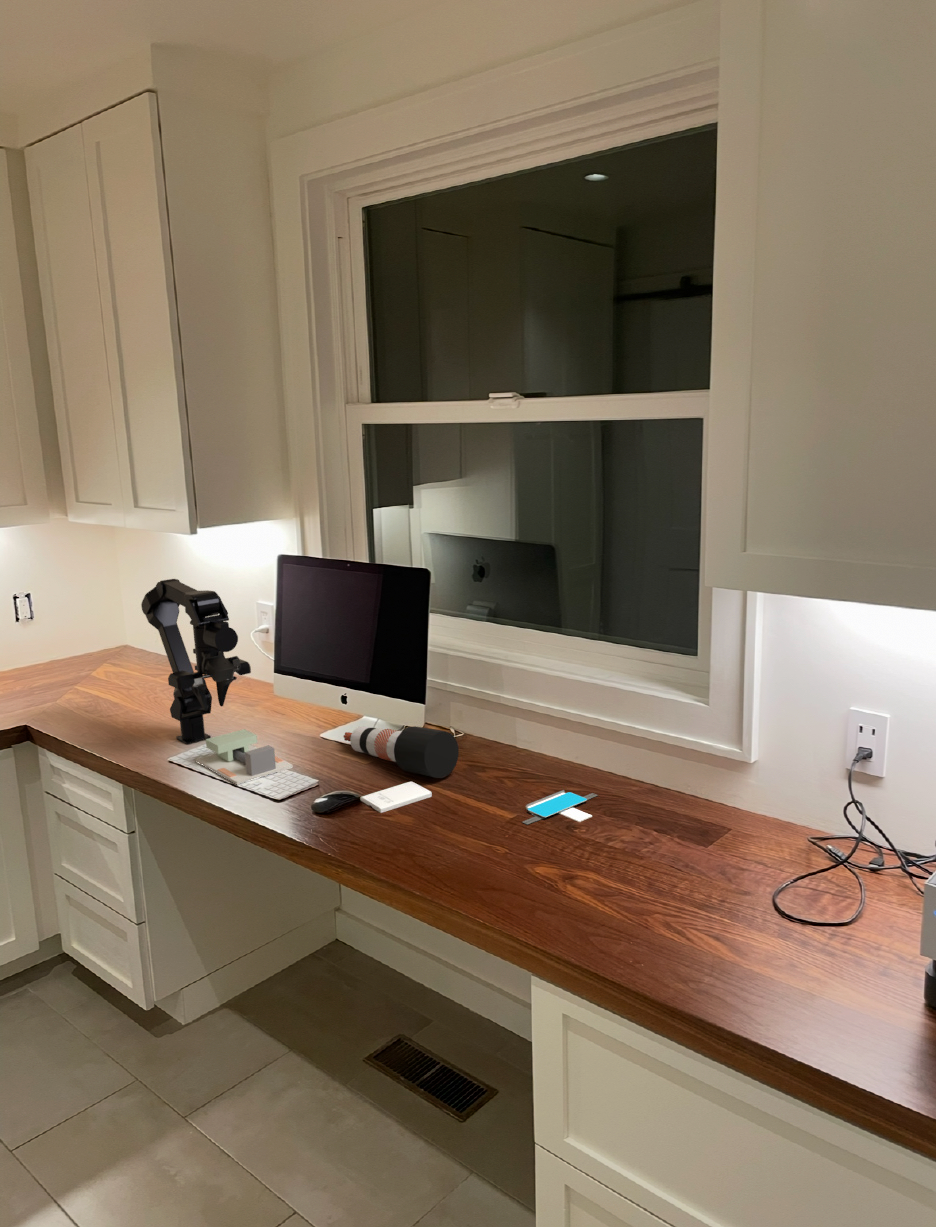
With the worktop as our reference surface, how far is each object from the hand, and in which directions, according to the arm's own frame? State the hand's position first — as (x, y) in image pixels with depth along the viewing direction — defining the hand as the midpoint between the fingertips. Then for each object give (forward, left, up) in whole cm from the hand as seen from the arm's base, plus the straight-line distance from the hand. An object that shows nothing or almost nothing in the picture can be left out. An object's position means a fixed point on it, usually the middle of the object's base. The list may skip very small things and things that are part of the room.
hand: (213, 708), depth 222 cm
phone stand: (+83, +33, -12) cm, 90 cm away
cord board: (+13, 0, -11) cm, 17 cm away
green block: (+8, 0, -10) cm, 13 cm away
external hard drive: (+54, +13, -12) cm, 57 cm away
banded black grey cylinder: (+37, +25, -11) cm, 46 cm away
